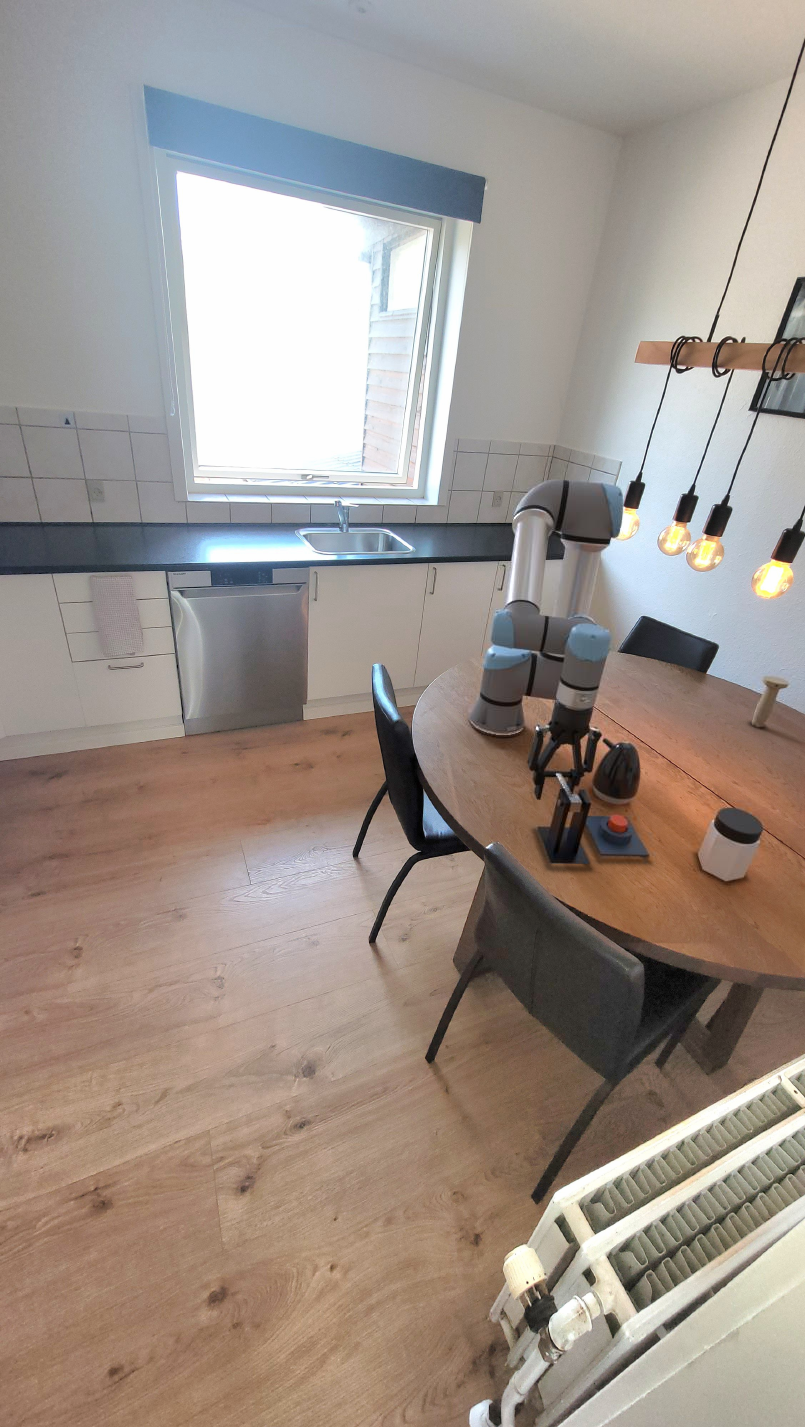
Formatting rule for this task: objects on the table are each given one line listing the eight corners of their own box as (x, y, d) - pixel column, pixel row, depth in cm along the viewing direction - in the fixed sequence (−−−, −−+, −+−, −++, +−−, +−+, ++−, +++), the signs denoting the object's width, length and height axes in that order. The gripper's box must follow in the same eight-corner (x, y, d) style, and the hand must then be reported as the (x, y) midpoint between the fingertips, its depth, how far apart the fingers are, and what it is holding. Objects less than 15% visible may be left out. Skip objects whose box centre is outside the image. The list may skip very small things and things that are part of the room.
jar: (749, 867, 120) (771, 822, 114) (737, 888, 114) (759, 841, 109) (704, 845, 125) (723, 800, 119) (690, 864, 120) (709, 818, 114)
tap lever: (541, 776, 126) (543, 767, 125) (568, 777, 126) (570, 767, 125) (559, 811, 114) (561, 801, 113) (589, 812, 114) (591, 802, 113)
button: (605, 822, 124) (607, 814, 123) (621, 822, 124) (624, 814, 123) (611, 833, 121) (613, 825, 120) (628, 833, 121) (630, 826, 120)
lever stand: (535, 831, 125) (547, 778, 119) (572, 832, 126) (586, 779, 119) (549, 868, 116) (563, 813, 109) (588, 869, 116) (605, 814, 110)
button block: (580, 822, 129) (584, 807, 127) (624, 823, 130) (629, 808, 128) (599, 860, 119) (603, 845, 117) (646, 861, 119) (652, 846, 118)
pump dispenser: (597, 779, 144) (612, 726, 137) (639, 798, 139) (657, 743, 131) (580, 798, 137) (595, 742, 130) (623, 818, 131) (641, 761, 124)
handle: (770, 731, 172) (790, 685, 165) (746, 726, 174) (765, 681, 167) (767, 724, 176) (786, 679, 169) (744, 719, 178) (762, 674, 171)
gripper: (532, 709, 112) (512, 806, 123) (628, 713, 114) (600, 808, 125) (523, 691, 119) (505, 784, 130) (614, 695, 120) (589, 787, 131)
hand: (552, 796), depth 127 cm, fingers closed on tap lever, 6 cm apart
